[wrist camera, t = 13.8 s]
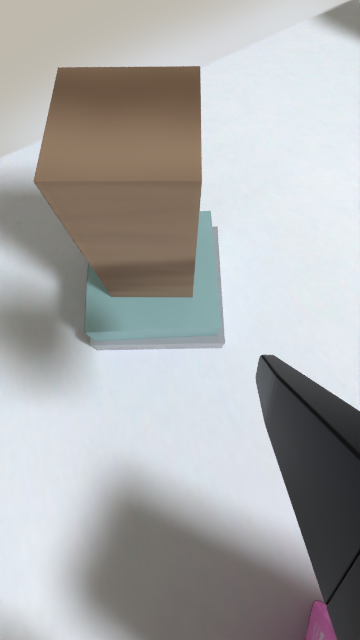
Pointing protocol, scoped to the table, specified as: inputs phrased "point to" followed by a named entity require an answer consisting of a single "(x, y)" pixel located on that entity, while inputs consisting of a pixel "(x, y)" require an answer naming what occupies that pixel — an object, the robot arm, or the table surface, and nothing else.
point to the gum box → (320, 624)
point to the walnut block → (127, 173)
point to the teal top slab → (159, 303)
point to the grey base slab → (174, 342)
